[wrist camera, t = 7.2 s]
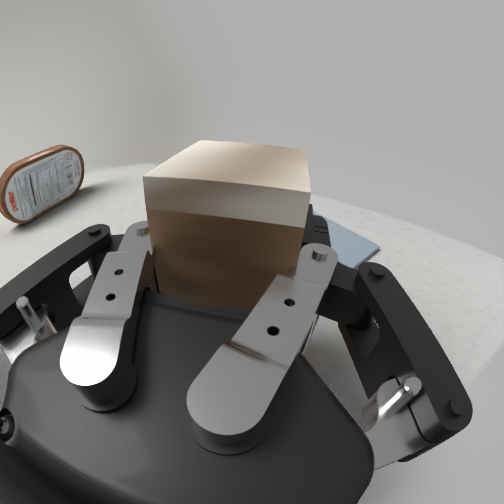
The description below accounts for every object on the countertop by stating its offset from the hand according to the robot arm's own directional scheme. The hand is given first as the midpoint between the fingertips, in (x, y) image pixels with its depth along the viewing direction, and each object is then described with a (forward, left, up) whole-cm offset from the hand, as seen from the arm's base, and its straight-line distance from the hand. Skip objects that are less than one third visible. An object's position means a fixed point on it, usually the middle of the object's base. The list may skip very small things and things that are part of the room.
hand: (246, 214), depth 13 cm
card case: (-1, -2, -7) cm, 7 cm away
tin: (-20, +26, -8) cm, 33 cm away
